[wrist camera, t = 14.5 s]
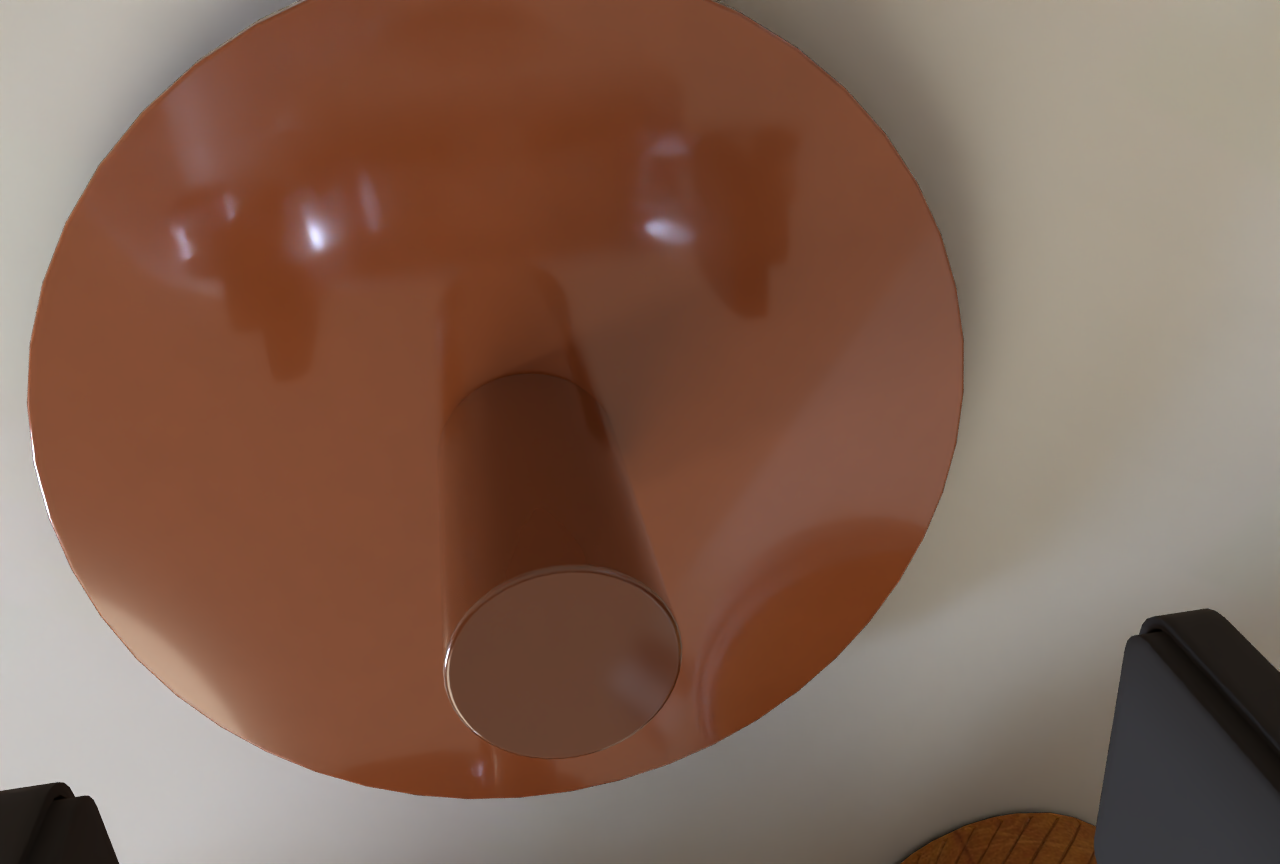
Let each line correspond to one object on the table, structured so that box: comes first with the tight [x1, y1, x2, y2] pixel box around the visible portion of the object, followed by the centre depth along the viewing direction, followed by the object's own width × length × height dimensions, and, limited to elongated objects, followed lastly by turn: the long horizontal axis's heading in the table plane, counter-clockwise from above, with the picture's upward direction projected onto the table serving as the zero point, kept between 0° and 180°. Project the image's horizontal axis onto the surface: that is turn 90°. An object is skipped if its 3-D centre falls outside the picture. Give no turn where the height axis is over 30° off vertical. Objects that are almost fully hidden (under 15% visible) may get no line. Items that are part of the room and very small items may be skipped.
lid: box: [27, 0, 964, 799], centre depth 15 cm, size 13×13×6 cm
